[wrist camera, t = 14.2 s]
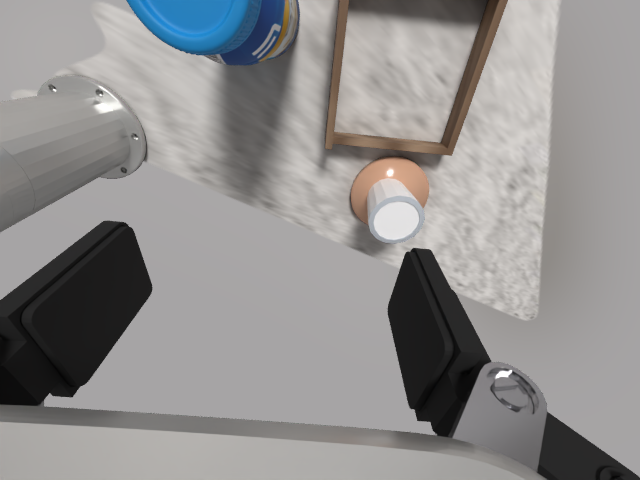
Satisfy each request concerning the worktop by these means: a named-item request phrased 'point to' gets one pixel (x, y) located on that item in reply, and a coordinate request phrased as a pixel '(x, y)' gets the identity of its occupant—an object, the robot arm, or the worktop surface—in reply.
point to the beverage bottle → (223, 27)
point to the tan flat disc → (384, 169)
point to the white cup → (393, 212)
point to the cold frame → (461, 104)
